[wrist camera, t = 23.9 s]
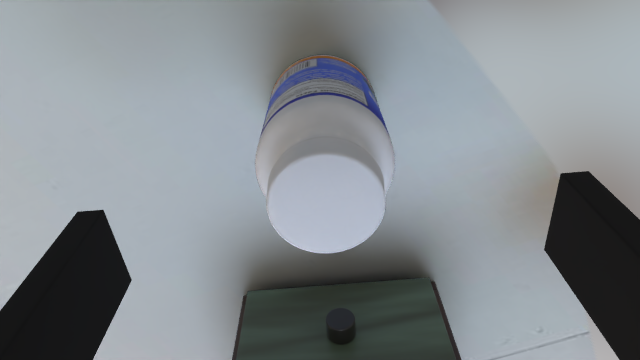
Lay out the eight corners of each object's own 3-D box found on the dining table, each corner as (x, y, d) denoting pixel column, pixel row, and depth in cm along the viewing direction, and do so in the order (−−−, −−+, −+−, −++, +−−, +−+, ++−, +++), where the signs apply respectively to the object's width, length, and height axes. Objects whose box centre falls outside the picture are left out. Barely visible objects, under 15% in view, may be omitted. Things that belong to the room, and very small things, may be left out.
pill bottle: (367, 154, 25) (396, 276, 16) (268, 148, 24) (245, 269, 16) (381, 55, 22) (426, 139, 14) (270, 46, 22) (245, 127, 13)
